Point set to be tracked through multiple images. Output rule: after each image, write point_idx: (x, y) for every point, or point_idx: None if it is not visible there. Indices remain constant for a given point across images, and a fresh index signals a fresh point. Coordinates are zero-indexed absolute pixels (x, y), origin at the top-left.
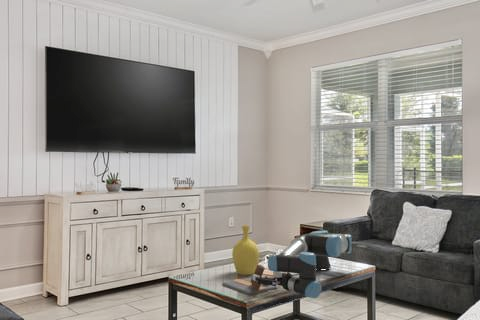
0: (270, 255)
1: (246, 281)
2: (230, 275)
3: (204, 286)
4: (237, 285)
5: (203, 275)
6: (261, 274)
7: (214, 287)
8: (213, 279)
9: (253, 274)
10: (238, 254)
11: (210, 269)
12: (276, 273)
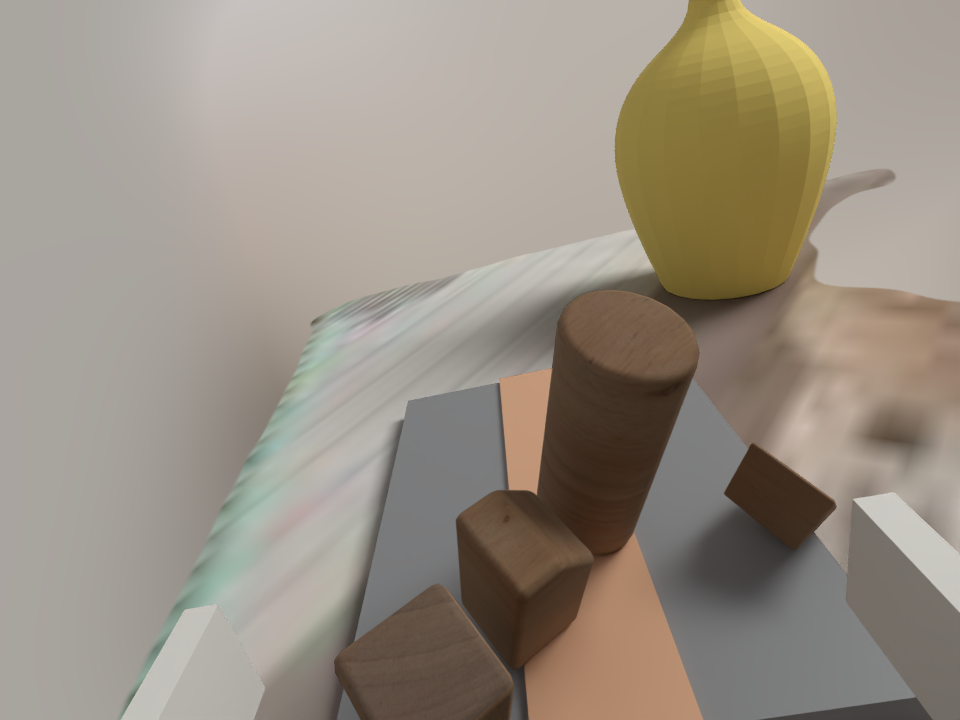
0: None
1: None
2: None
3: (298, 419)
4: (442, 479)
5: (465, 298)
6: (634, 458)
7: (321, 447)
8: (457, 339)
9: (182, 626)
10: (633, 155)
11: (560, 251)
12: (943, 649)
